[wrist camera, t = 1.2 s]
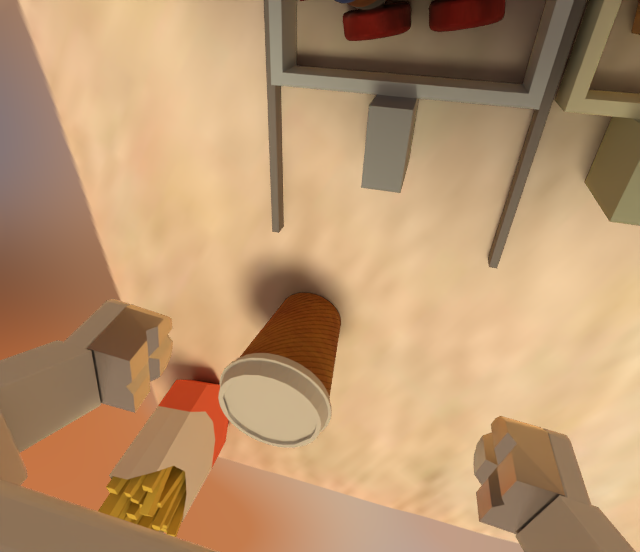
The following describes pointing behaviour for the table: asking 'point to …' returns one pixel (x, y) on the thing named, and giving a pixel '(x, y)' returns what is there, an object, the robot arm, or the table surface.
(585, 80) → the cube lane
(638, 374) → the table surface
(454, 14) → the toy fire truck
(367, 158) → the grey open rectangular tray
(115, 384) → the robot arm
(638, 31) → the walnut cube
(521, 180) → the lane rails
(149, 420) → the french fries container
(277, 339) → the disposable coffee cup
